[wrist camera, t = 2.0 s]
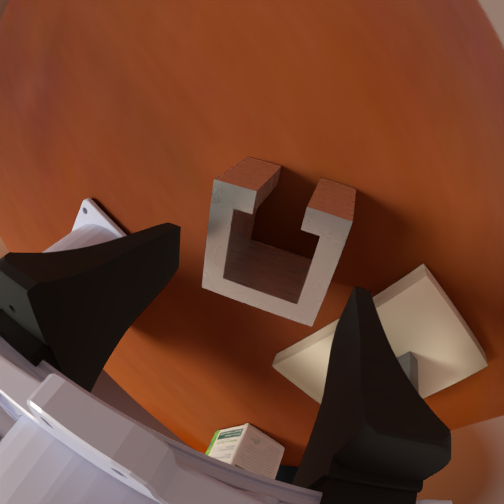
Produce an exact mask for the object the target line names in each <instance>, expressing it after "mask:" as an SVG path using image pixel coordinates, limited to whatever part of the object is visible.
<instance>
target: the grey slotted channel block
mask: <svg viewBox="0 0 504 504" xmlns="http://www.w3.org/2000/svg"><path fill="white" fill-rule="evenodd" d="M281 167H282V166H281V165H277V164H273V163H270V162H266V161H262V160H259V159H255V158H251V157H246V158H245V159H243V160H242V161H240V162H239V163H237V164H236V165H234V166H233V167H231V168H230V169H228V170H227V171H225V172H224V173H223V174H221V175H220V176H218V177H217V178H215V179H214V183H213V191H212V199H211V207H210V215H209V224H208V232H207V241H206V251H205V260H204V270H203V280H202V288H205V289H208V290H210V291H213V292H216V293H218V294H221V295H224V296H226V297H229V298H232V299H234V300H237V301H240V302H242V303H245V304H248V305H251V306H253V307H256V308H259V309H262V310H265V311H267V312H270V313H273V314H276V315H279V316H282V317H285V318H287V319H290V320H293V321H296V322H299V323H302V324H305V325H308V326H311V327H312V325H313V323H314V320H315V318H316V316H317V313H318V311H319V309H320V306H321V304H322V301H323V299H324V296H325V294H326V291H327V289H328V286H329V284H330V281H331V279H332V276H333V274H334V271H335V269H336V266H337V263H338V261H339V258H340V256H341V253H342V250H343V247H344V245H345V242H346V239H347V237H348V234H349V231H350V228H351V225H352V223H353V215H354V206H355V195H356V189H355V188H352V187H349V186H346V185H343V184H340V183H337V182H334V181H331V180H328V179H324V178H320V180H319V182H318V185H317V187H316V189H315V191H314V193H313V195H312V197H311V199H310V201H309V204H308V206H307V209H306V212H305V216H304V219H303V223H302V227H301V230H303V231H306V232H309V233H312V234H315V235H318V236H320V238H319V241H318V244H317V247H316V250H315V253H314V256H313V259H309V258H306V257H303V256H300V255H297V254H294V253H291V252H288V251H285V250H282V249H279V248H276V247H273V246H270V245H267V244H264V243H261V242H258V241H255V240H252V239H251V236H252V231H253V226H254V221H255V216H256V211H257V208H258V207H259V206H260V204H261V203H262V202H263V201H264V200H265V199H266V197H267V196H268V195H269V194H270V193H271V191H272V190H273V189H274V188H275V187H276V186H277V184H278V181H279V176H280V172H281Z"/></svg>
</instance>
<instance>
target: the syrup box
mask: <svg viewBox="0 0 504 504" xmlns="http://www.w3.org/2000/svg"><path fill="white" fill-rule="evenodd" d="M284 450H285V448H284V447H283V446H282V445H280V444H279V443H278V442H276V441H275V440H273V439H272V438H270V437H269V436H267V435H266V434H264V433H263V432H261V431H260V430H258V429H257V428H255V427H254V426H252V425H251V424H249V423H246V424H244V425H241V426H236V427H232V428H227V429H223V430H218V431H216V432H215V434H214V437H213V439H212V441H211V443H210V445H209V447H208V449H207V451H206V453H205V454H206V455H208V456H210V457H213V458H215V459H218V460H220V461H223V462H225V463H228V464H231V465H233V466H236V467H239V468H241V469H244V470H247V471H250V472H253V473H256V474H259V475H262V476H265V477H268V478H271V479H274V480H275V477H276V475H277V472H278V469H279V465H280V462H281V460H282V456H283V453H284Z"/></svg>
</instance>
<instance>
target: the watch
mask: <svg viewBox="0 0 504 504" xmlns="http://www.w3.org/2000/svg"><path fill="white" fill-rule="evenodd" d="M298 468H299V467H292V466H283V465H279V469H278V472H277V475H276V477H275V480H277V481H281V482H284V483H288V484H292V482H293V480H294V477H295V475H296V473H297V470H298Z"/></svg>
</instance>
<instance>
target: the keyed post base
mask: <svg viewBox="0 0 504 504" xmlns="http://www.w3.org/2000/svg"><path fill="white" fill-rule="evenodd" d="M373 301H374V304H375V307H376V310H377V313H378V316H379V318H380V321H381V324H382V326H383V329H384V331H385V334H386V336H387V339H388V341H389V343H390V345H391V348H392V350H393V352H394V354H395V356H396V358H397V360H398V361H399V363H400V365H401V367H402V369H403V370H404V372H405V374H406V375H407V377H408V379H409V380H410V382H411V383H412V385H413V386H414V388H415V389H416V391H417V392H418V393H419V395H420V396H421V397H422V399H423V398H425V397H427V396H429V395H432V394H434V393H436V392H438V391H440V390H442V389H444V388H447V387H449V386H451V385H453V384H455V383H457V382H459V381H461V380H463V379H465V378H466V377H468V376H470V375H472V374H474V373H476V372H478V371H479V370H481V369H483V368H485V367H487V366H488V362H487V358H486V354H485V352H484V350H483V348H482V347H481V345H480V344H479V342H478V340H477V339H476V337H475V336H474V334H473V333H472V331H471V329H470V328H469V326H468V325H467V323H466V322H465V320H464V319H463V317H462V316H461V314H460V313H459V311H458V310H457V309H456V307H455V306H454V304H453V303H452V301H451V300H450V298H449V297H448V296H447V294H446V293H445V291H444V290H443V289H442V287H441V286H440V285H439V283H438V282H437V280H436V279H435V278H434V276H433V275H432V274H431V272H430V271H429V270H428V268H427V267H426V266H425V265H424V263H423V264H422V265H420V266H419V267H418V268H416V269H415V270H413V271H412V272H410V273H409V274H407V275H406V276H404V277H403V278H402V279H400V280H399V281H397V282H396V283H394V284H393V285H391V286H390V287H388V288H387V289H385V290H384V291H382V292H380V293H379V294H377V295H376V296H374V297H373ZM339 319H340V318H339ZM339 319H337V320H336V321H334V322H332V323H331V324H329V325H327V326H325V327H324V328H322V329H320V330H319V331H317V332H315V333H313V334H312V335H310V336H308V337H306V338H305V339H303V340H301V341H299V342H297V343H296V344H294V345H292V346H290V347H288V348H286V349H285V350H283V351H281V352H279V353H277V354H276V356H275V359H274V361H273V364H272V367H273V368H275V369H276V370H277V371H278V372H279V373H281V374H282V375H283V376H285V377H286V378H287V379H288V380H290V381H291V382H292V383H293V384H295V385H296V386H297V387H299V388H300V389H301V390H302V391H304V392H305V393H306V394H308V395H309V396H310V397H312V398H313V399H314V400H315V401H317V402H318V403H319V404H321V402H322V397H323V393H324V387H325V381H326V375H327V369H328V363H329V356H330V350H331V344H332V341H333V337H334V333H335V330H336V326H337V323H338V321H339Z"/></svg>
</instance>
